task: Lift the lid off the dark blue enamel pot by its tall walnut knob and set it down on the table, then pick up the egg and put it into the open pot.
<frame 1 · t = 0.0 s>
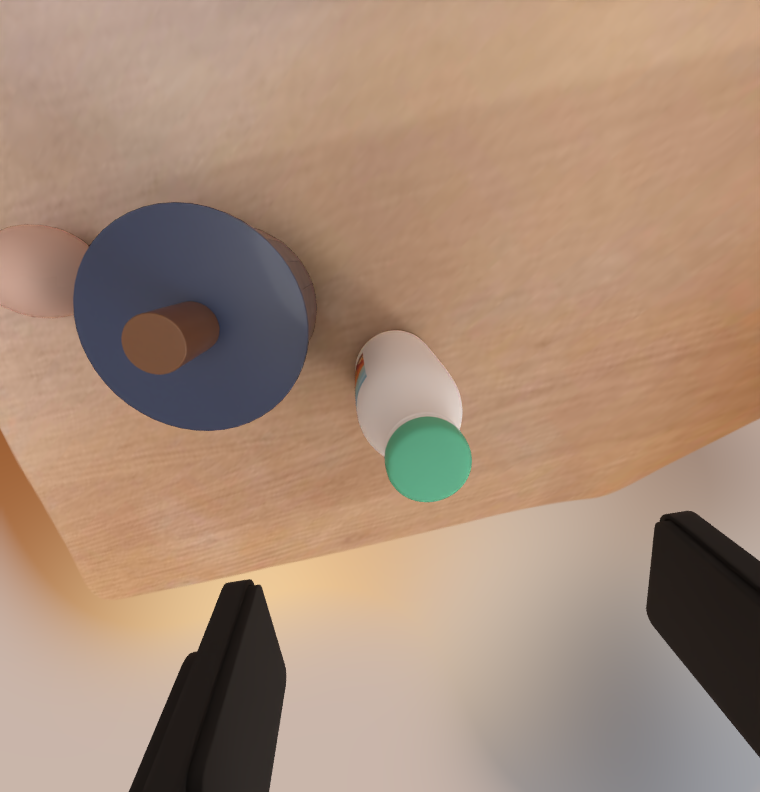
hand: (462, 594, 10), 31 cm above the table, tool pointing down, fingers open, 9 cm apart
lid: (197, 325, 26), point 11 cm above the table, touching pot
egg: (85, 270, 36), on the table
milk bottle: (394, 367, 40), on the table
pot: (242, 305, 37), on the table
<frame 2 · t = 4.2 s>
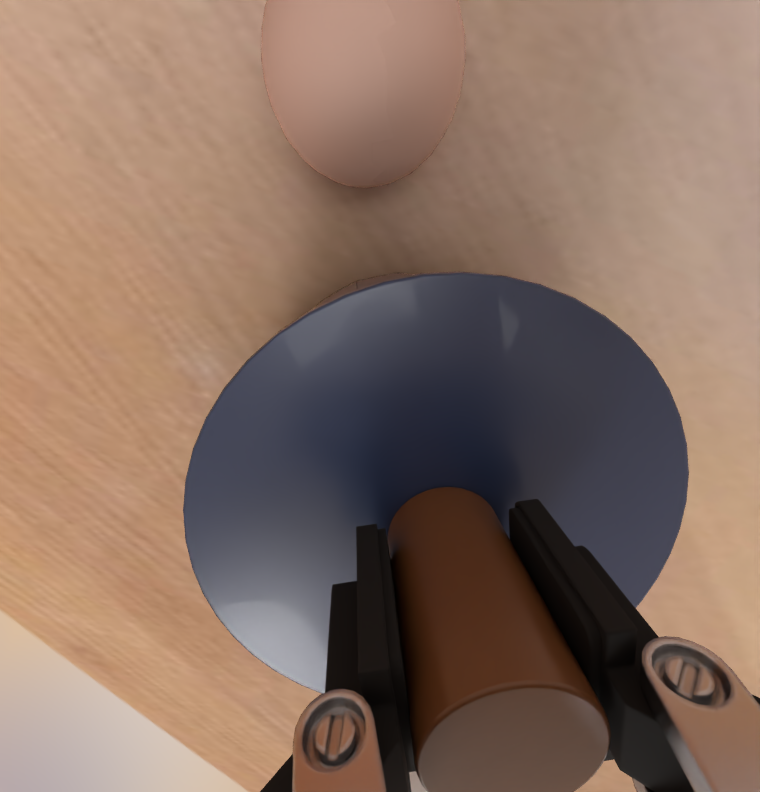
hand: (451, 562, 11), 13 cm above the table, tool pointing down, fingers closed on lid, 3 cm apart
lid: (438, 521, 12), point 12 cm above the table, touching gripper, pot
egg: (361, 120, 19), on the table
pot: (398, 397, 23), on the table
when the fingers open (8 cm above the table, at t = 26.0 s): lid stays where it is, point 1 cm above the table.
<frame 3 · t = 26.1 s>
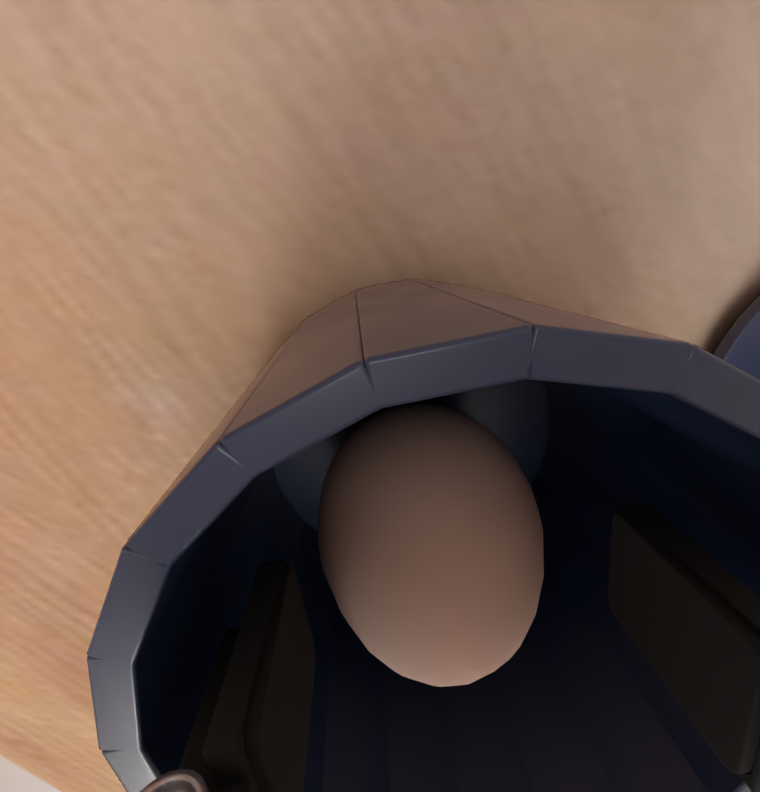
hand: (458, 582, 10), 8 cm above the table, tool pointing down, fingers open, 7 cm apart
egg: (409, 448, 18), resting on pot
pot: (409, 437, 18), on the table
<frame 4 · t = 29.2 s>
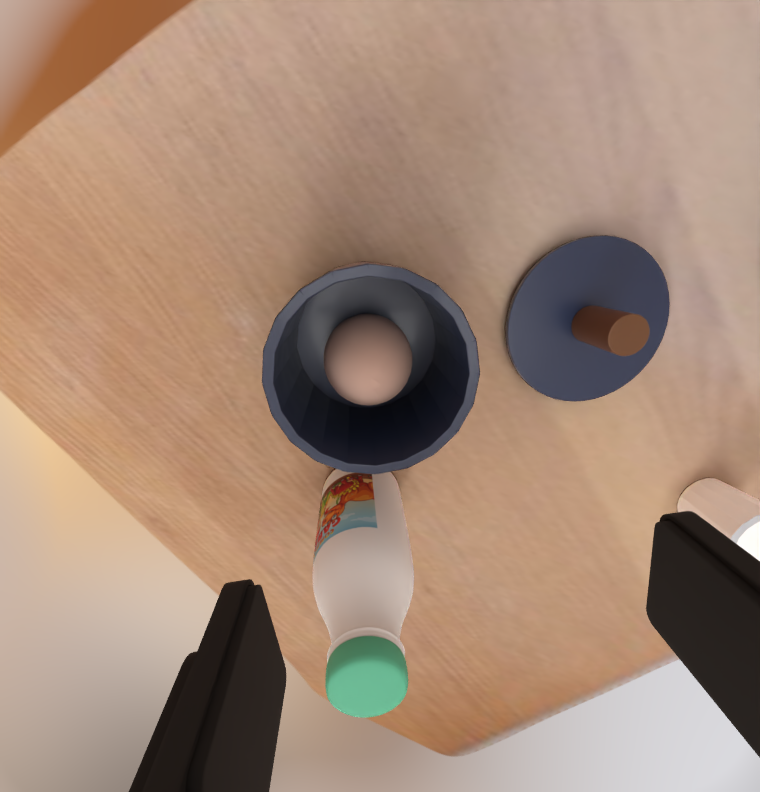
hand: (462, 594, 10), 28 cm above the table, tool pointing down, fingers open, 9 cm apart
white cup: (701, 499, 44), on the table
lid: (585, 322, 36), point 1 cm above the table
egg: (366, 346, 36), resting on pot
milk bottle: (361, 490, 41), on the table
pot: (366, 341, 36), on the table
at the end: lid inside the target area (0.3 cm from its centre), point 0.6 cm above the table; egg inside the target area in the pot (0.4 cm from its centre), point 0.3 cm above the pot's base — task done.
